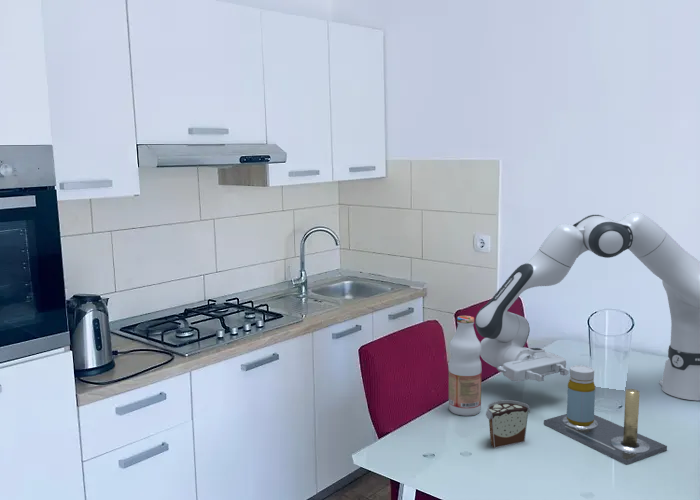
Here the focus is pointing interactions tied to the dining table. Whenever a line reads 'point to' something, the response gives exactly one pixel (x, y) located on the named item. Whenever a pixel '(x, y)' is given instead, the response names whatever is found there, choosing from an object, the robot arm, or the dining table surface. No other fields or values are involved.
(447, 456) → the dining table surface
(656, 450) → the gauge plate
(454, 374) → the fruit juice
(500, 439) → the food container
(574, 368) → the bottle
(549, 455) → the dining table surface
